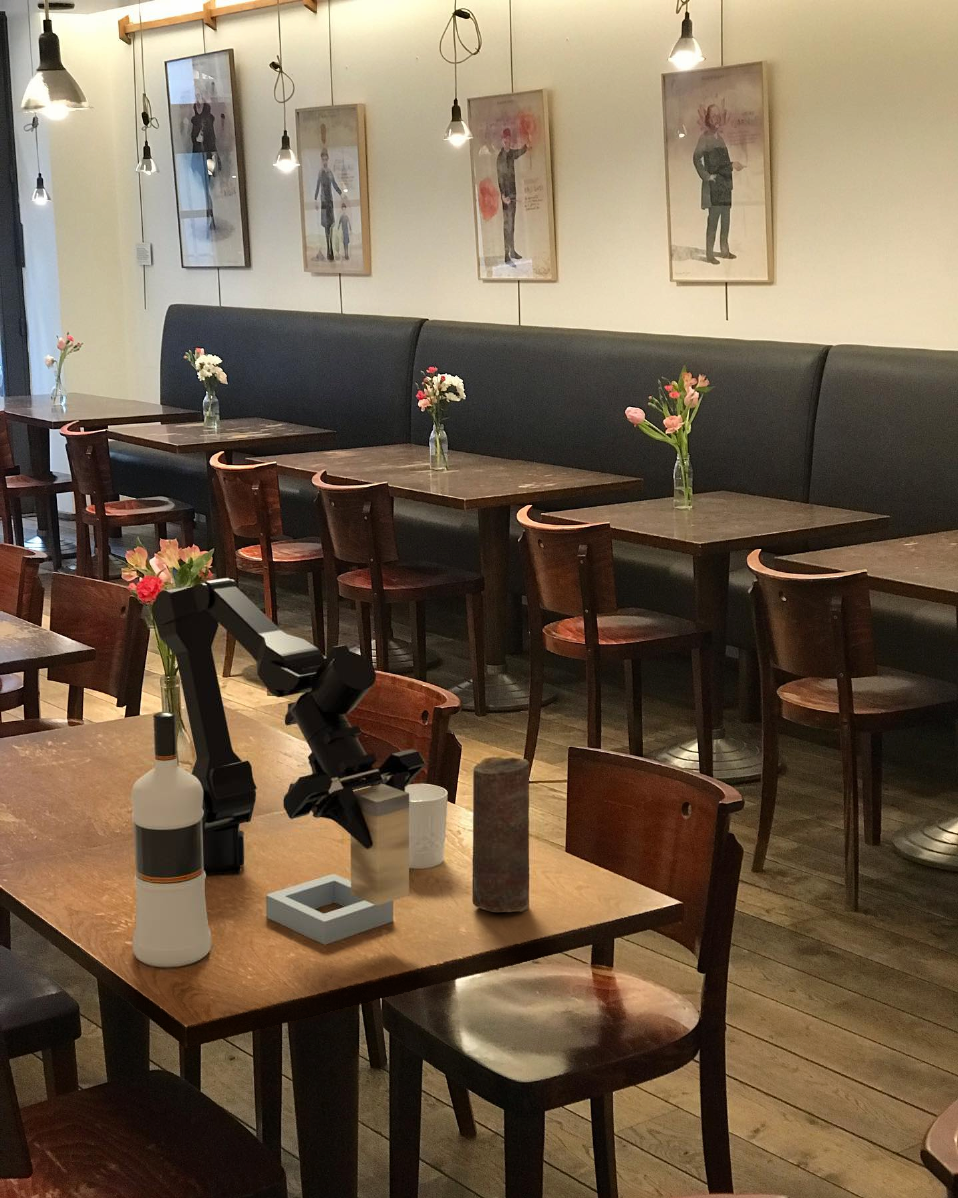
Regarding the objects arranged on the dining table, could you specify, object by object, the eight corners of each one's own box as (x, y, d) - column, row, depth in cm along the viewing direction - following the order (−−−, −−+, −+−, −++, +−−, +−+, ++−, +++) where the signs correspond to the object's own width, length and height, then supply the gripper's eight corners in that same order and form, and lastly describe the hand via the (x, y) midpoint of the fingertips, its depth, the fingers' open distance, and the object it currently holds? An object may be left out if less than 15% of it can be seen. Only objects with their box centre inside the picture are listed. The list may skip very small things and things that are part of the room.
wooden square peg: (350, 894, 195) (350, 792, 192) (382, 884, 198) (382, 783, 196) (377, 906, 191) (376, 802, 189) (409, 895, 195) (409, 793, 192)
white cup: (440, 872, 220) (440, 803, 218) (384, 868, 221) (384, 799, 219) (452, 853, 227) (453, 785, 225) (399, 849, 229) (398, 782, 227)
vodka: (117, 956, 191) (107, 714, 186) (176, 933, 199) (168, 698, 193) (168, 977, 186) (160, 727, 180) (227, 952, 193) (221, 711, 187)
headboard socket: (266, 917, 204) (265, 894, 203) (334, 895, 211) (333, 873, 211) (324, 945, 195) (324, 921, 195) (393, 921, 203) (393, 898, 202)
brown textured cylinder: (509, 925, 202) (510, 772, 198) (460, 913, 205) (460, 763, 202) (539, 906, 208) (541, 757, 204) (491, 894, 212) (492, 749, 208)
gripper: (358, 754, 210) (414, 856, 204) (241, 783, 197) (296, 893, 191) (397, 708, 203) (456, 812, 197) (278, 735, 190) (337, 847, 184)
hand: (387, 842), depth 193 cm, fingers closed on wooden square peg, 5 cm apart
